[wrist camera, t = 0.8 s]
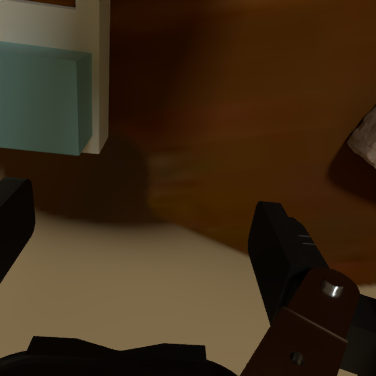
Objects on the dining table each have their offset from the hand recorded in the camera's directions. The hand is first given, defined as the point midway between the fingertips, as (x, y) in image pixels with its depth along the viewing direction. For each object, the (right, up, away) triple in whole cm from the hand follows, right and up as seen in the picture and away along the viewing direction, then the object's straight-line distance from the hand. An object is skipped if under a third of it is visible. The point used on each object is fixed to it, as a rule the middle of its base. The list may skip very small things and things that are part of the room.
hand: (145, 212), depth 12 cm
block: (-8, +8, +12) cm, 17 cm away
